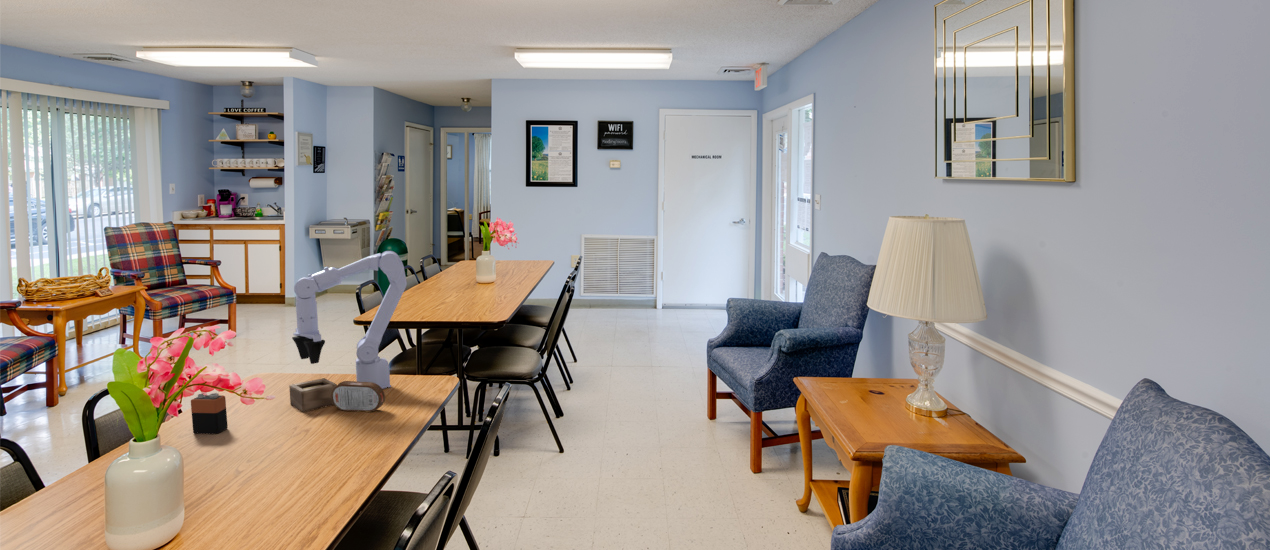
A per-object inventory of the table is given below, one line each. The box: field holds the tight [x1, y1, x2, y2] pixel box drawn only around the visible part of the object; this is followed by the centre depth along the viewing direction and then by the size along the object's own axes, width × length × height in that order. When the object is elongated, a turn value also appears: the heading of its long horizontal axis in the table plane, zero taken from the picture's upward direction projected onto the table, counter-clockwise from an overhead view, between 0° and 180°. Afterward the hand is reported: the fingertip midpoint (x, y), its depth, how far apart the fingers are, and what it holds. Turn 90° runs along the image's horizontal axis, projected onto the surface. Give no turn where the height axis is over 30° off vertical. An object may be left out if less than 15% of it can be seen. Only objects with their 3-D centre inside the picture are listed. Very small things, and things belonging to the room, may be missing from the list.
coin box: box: [288, 377, 338, 413], centre depth 200 cm, size 10×9×6 cm
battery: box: [190, 392, 228, 435], centre depth 178 cm, size 4×7×10 cm, turn 88°
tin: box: [331, 380, 386, 412], centre depth 195 cm, size 15×3×8 cm, turn 84°
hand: (309, 360), depth 209 cm, fingers open, 7 cm apart
